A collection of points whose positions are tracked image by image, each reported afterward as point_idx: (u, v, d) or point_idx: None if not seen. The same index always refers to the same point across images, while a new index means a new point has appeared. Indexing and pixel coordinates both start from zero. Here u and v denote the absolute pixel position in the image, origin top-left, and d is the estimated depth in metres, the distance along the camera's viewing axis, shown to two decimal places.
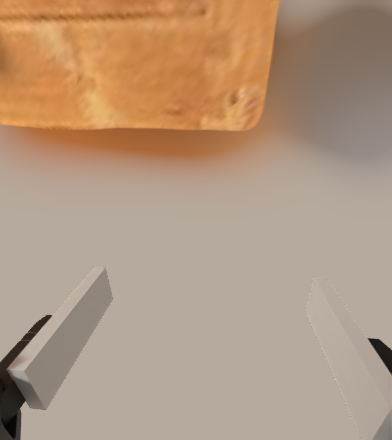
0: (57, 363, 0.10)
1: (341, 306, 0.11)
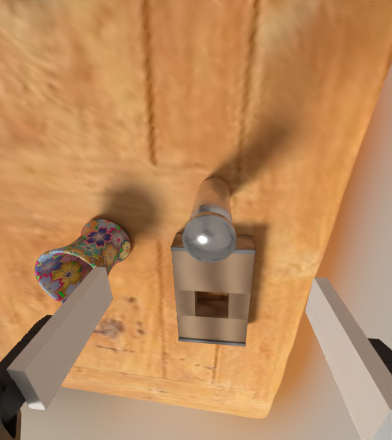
0: (57, 363, 0.10)
1: (341, 306, 0.11)
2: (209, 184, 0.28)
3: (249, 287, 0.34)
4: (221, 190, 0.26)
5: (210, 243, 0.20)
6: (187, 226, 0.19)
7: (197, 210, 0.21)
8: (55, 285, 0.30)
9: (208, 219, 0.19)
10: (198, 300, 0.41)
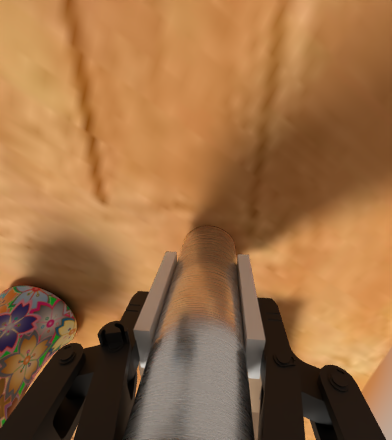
0: None
1: (248, 274, 0.13)
2: (198, 250, 0.14)
3: None
4: (222, 271, 0.13)
5: None
6: None
7: (153, 385, 0.07)
8: None
9: None
10: None
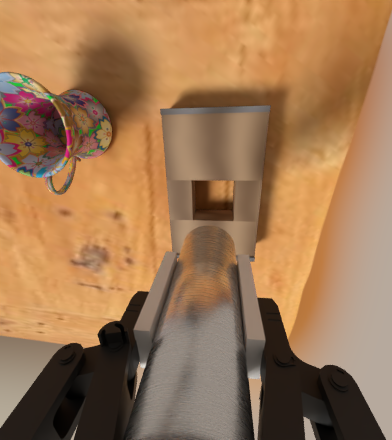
0: None
1: (248, 274, 0.13)
2: (198, 249, 0.15)
3: (261, 169, 0.27)
4: (222, 270, 0.13)
5: None
6: None
7: (155, 381, 0.08)
8: (9, 149, 0.23)
9: None
10: (196, 210, 0.34)
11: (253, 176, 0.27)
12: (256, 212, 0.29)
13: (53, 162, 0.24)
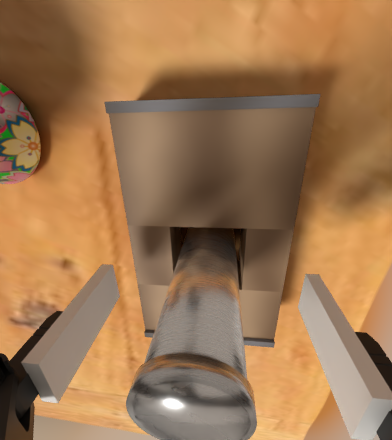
0: (68, 358, 0.10)
1: (331, 301, 0.11)
2: (201, 232, 0.17)
3: (292, 212, 0.15)
4: (221, 248, 0.15)
5: (194, 423, 0.08)
6: (135, 390, 0.08)
7: (168, 322, 0.10)
8: None
9: (185, 384, 0.07)
10: None
11: (278, 222, 0.15)
12: (280, 278, 0.17)
13: None
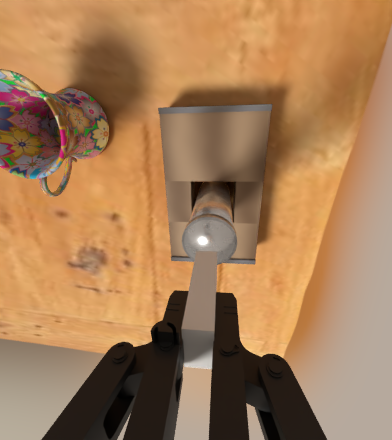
0: None
1: (212, 270, 0.14)
2: (209, 185, 0.28)
3: (262, 170, 0.26)
4: (222, 191, 0.26)
5: (210, 246, 0.19)
6: (187, 228, 0.19)
7: (197, 212, 0.21)
8: (1, 150, 0.22)
9: (208, 221, 0.18)
10: None
11: (254, 177, 0.26)
12: (257, 214, 0.28)
13: (47, 163, 0.23)
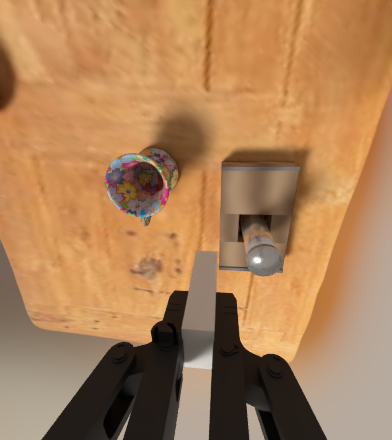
0: None
1: (212, 270, 0.14)
2: (252, 216, 0.39)
3: (291, 207, 0.37)
4: (262, 222, 0.37)
5: (265, 264, 0.30)
6: (251, 253, 0.30)
7: (253, 241, 0.32)
8: (119, 197, 0.33)
9: (265, 249, 0.29)
10: None
11: (285, 212, 0.37)
12: (286, 237, 0.39)
13: (147, 205, 0.34)
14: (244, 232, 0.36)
